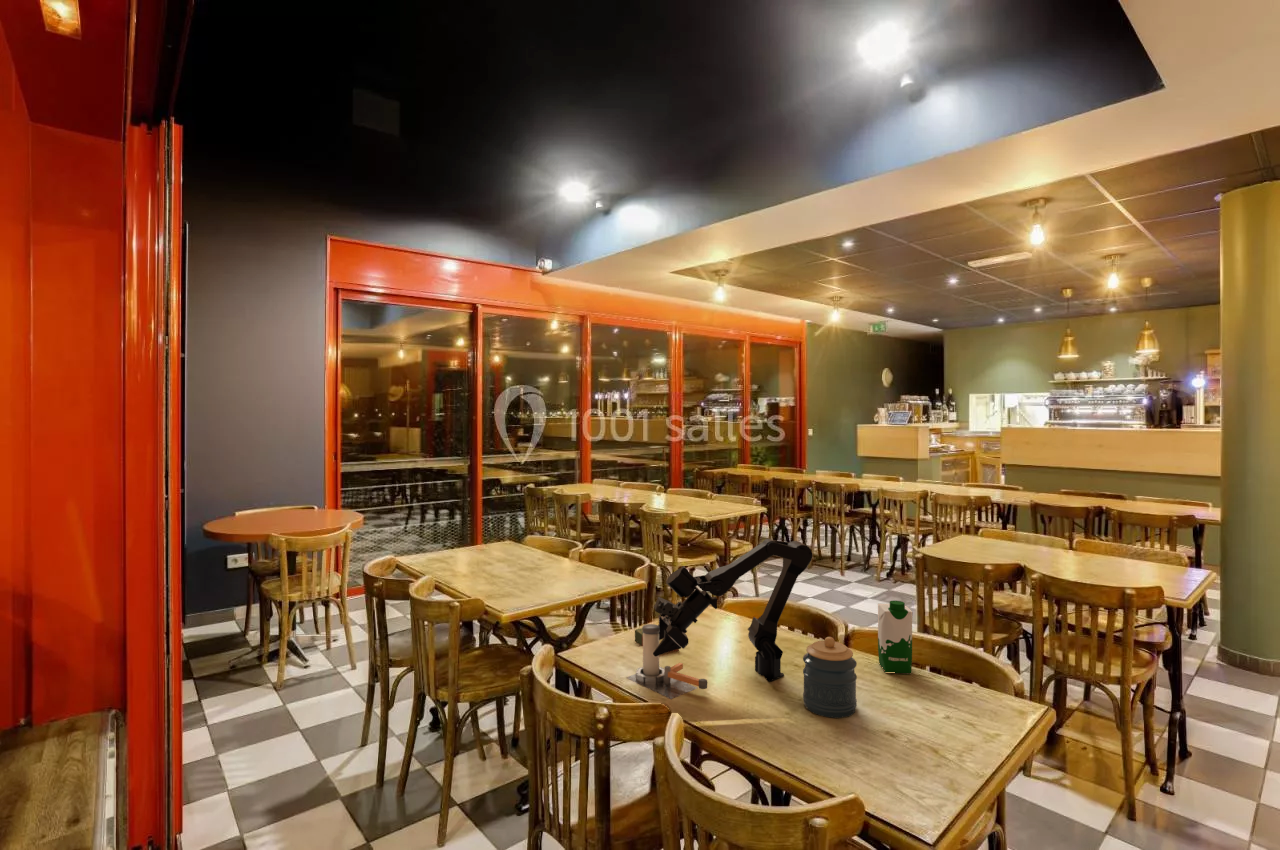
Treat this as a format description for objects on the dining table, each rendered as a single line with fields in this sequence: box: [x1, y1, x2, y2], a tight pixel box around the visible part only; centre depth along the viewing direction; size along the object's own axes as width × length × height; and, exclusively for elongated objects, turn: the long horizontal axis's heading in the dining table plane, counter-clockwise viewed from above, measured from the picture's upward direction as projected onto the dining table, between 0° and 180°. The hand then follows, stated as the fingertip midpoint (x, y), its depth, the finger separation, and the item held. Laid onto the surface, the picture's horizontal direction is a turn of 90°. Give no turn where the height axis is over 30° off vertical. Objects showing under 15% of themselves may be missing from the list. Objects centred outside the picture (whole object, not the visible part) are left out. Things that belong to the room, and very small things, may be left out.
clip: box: [664, 662, 708, 690], centre depth 169 cm, size 13×8×4 cm, turn 52°
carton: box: [634, 627, 680, 653], centre depth 201 cm, size 8×16×4 cm, turn 25°
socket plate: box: [625, 665, 698, 700], centre depth 171 cm, size 18×10×3 cm, turn 41°
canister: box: [802, 636, 858, 719], centre depth 158 cm, size 13×13×18 cm
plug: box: [641, 623, 660, 676], centre depth 174 cm, size 5×5×14 cm
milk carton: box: [877, 600, 913, 674], centre depth 182 cm, size 9×9×20 cm
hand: (652, 648), depth 174 cm, fingers open, 9 cm apart
